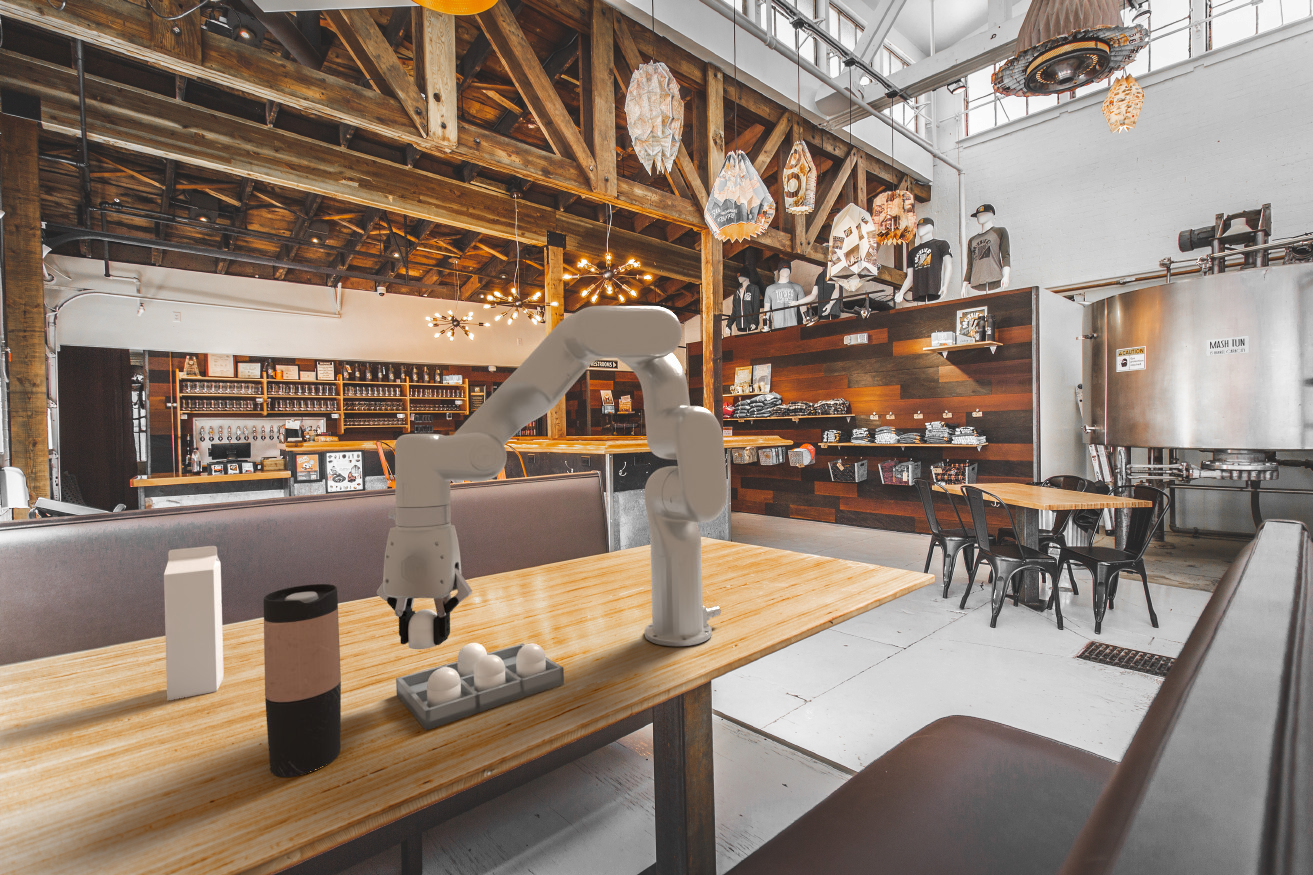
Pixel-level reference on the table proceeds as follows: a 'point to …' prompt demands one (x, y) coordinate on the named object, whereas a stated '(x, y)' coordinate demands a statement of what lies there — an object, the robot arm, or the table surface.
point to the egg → (421, 630)
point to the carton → (477, 682)
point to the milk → (193, 622)
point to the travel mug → (302, 678)
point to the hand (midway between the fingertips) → (424, 640)
